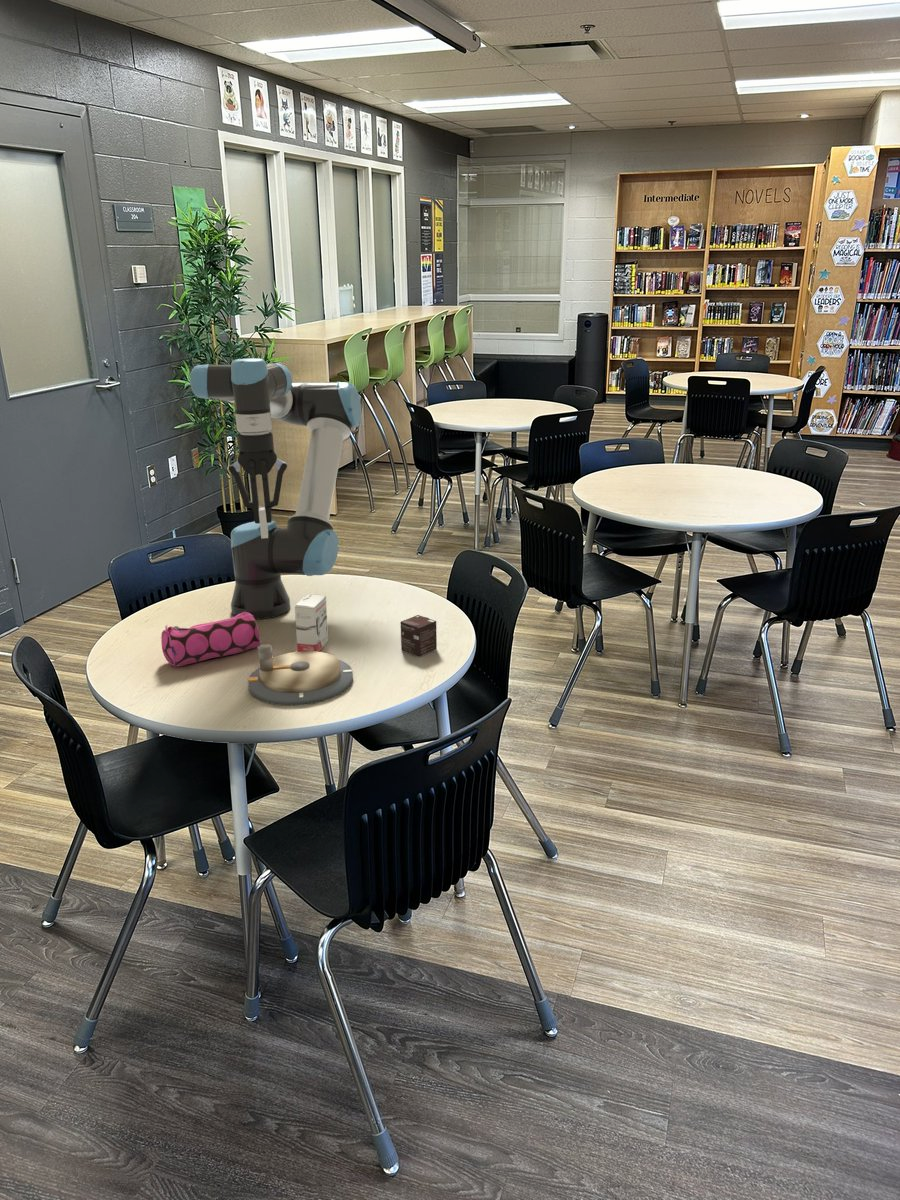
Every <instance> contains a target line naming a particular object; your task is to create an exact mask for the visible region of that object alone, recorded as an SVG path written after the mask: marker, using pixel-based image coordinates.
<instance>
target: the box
mask: <svg viewBox="0 0 900 1200" xmlns="http://www.w3.org/2000/svg"><path fill="white" fill-rule="evenodd" d="M437 645H438V644H437V620H434V619H431V618H429V617H427V616H423V615H420V614H417V615H414V616H412V617H409V618H407V619H404V620H401V621H400V647H401V648H400V650H401V652H404V653H407V654H409V655H412V656H415V657H418V658H421V657H424V656H425V655H428V654H430V653H432V652H435V651H436V650H437ZM434 650H435V651H434ZM423 655H424V656H423Z"/></svg>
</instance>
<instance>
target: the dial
mask: <svg viewBox="0 0 900 1200" xmlns="http://www.w3.org/2000/svg"><path fill="white" fill-rule="evenodd" d="M257 652H258V663H259V667H260V670H259V672H260V681H261V683H262V685H263V686H265V687H266V688H268V689H271V690H274V691H278V692H286V693H299V692H308V691H313V690H317V689H321V688H324V687H326V686H329V685H330V684H332V683H334V682H335V681H336V680H338V678H339V677H340V675H341V667H340V661H339V660H340V659H339V658H338V657H336V656H335V655H333V654H330V653H326V652H322V651H319V652H316V651H300V652H297V651H292V652H288V653H287V652H286V653H283V654H279V655H277V656H276V655H275V656H274V657H273V648H272V645H271V644H268V643H267V644H266V643H265V644H264V643H263V644H260V646H258V647H257ZM338 659H339V660H338Z"/></svg>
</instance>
